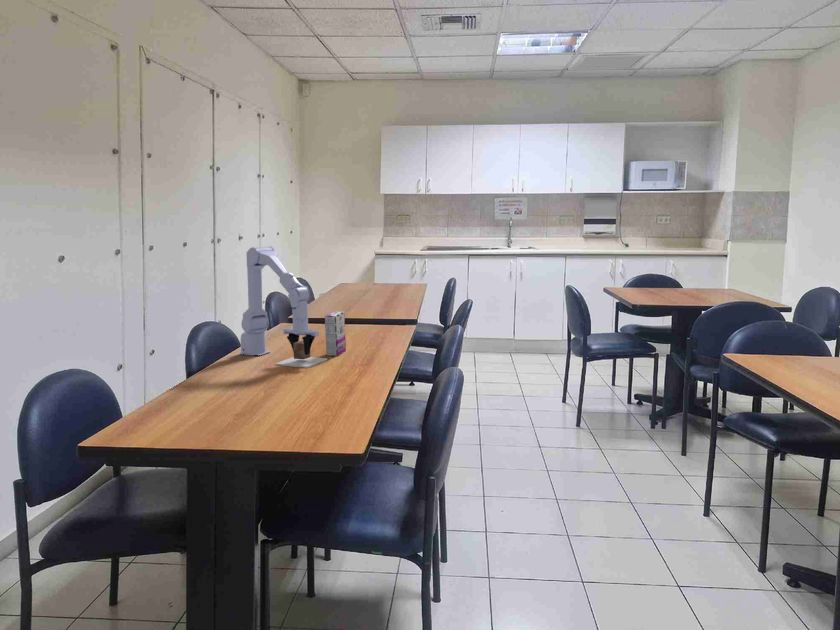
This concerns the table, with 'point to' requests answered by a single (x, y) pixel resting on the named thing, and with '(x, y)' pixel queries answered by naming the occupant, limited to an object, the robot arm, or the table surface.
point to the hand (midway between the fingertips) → (301, 353)
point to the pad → (301, 362)
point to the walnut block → (299, 350)
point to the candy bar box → (335, 333)
